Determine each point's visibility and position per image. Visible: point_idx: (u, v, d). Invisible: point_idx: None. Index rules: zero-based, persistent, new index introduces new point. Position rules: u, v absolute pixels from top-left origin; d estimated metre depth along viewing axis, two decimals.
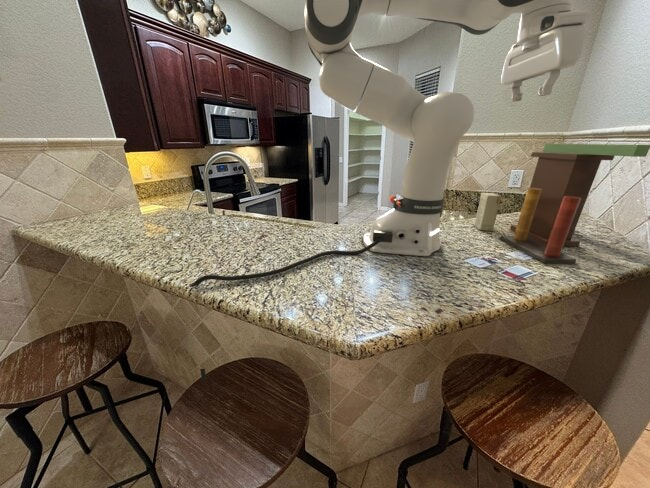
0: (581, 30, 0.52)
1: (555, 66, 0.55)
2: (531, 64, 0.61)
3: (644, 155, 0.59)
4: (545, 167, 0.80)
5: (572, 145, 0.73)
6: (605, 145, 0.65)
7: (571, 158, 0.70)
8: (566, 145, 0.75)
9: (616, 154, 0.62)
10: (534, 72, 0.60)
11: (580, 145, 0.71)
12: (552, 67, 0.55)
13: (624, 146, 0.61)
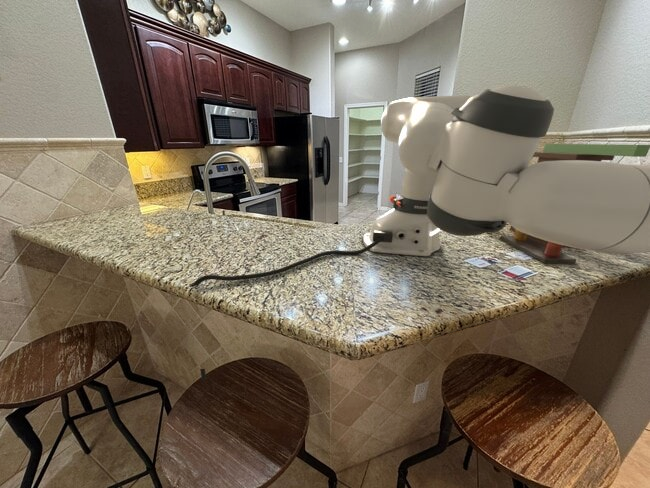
0: None
1: None
2: None
3: (644, 155, 0.59)
4: None
5: (572, 145, 0.73)
6: (605, 145, 0.65)
7: (571, 158, 0.70)
8: (566, 145, 0.75)
9: (616, 154, 0.62)
10: None
11: (580, 145, 0.71)
12: None
13: (624, 146, 0.61)
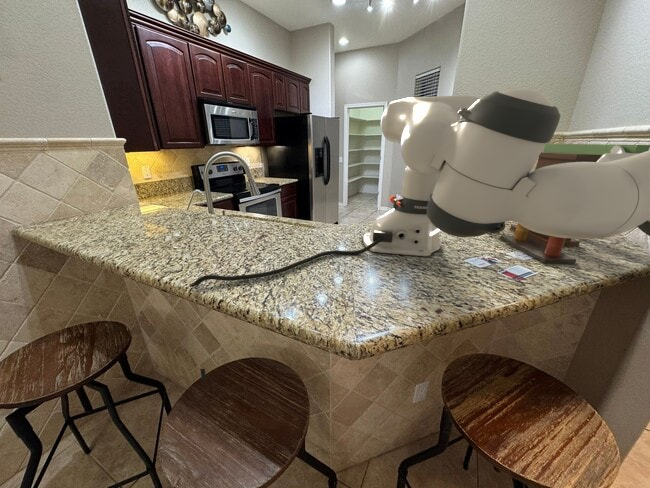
0: None
1: None
2: None
3: None
4: None
5: (572, 145, 0.73)
6: (605, 145, 0.65)
7: (571, 158, 0.70)
8: (566, 145, 0.75)
9: None
10: None
11: (580, 145, 0.71)
12: None
13: (624, 146, 0.61)
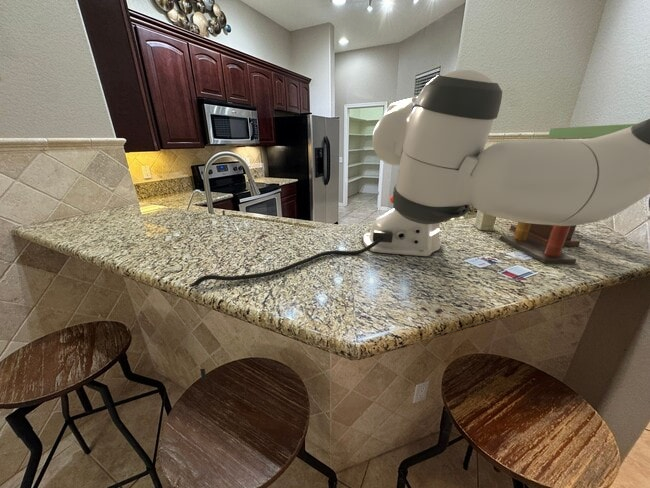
0: None
1: None
2: None
3: None
4: None
5: (582, 128, 0.64)
6: (623, 125, 0.55)
7: None
8: (575, 128, 0.66)
9: None
10: None
11: (592, 127, 0.61)
12: None
13: None
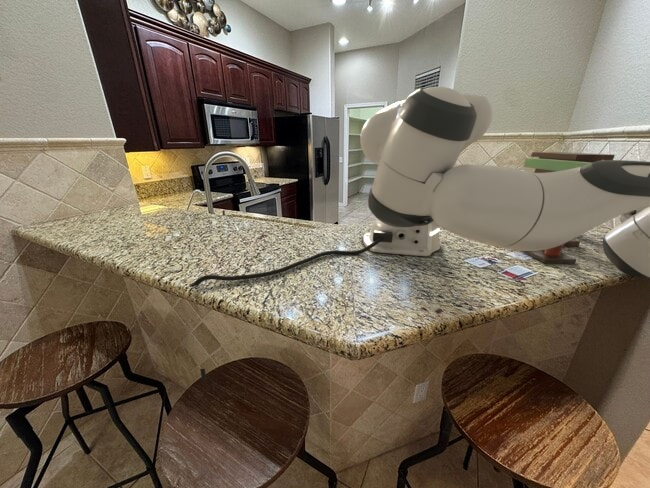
0: None
1: None
2: None
3: None
4: None
5: (552, 161, 0.67)
6: None
7: (571, 158, 0.70)
8: (546, 161, 0.69)
9: None
10: None
11: (560, 162, 0.65)
12: None
13: None
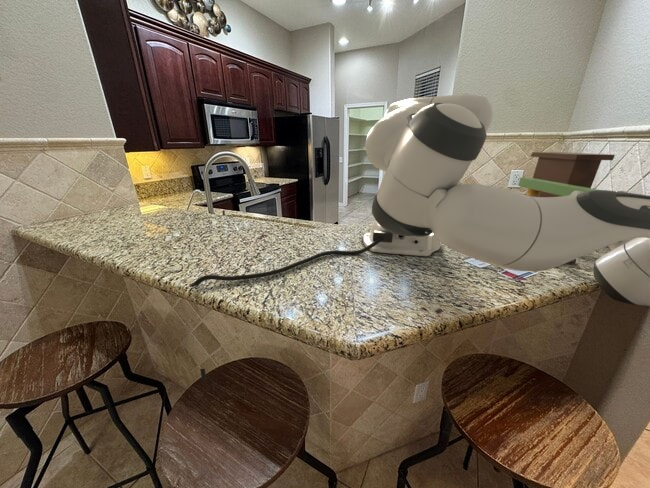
0: None
1: None
2: None
3: None
4: (545, 167, 0.80)
5: (545, 183, 0.69)
6: (577, 189, 0.61)
7: (571, 158, 0.70)
8: (540, 182, 0.71)
9: None
10: None
11: (553, 185, 0.67)
12: None
13: None
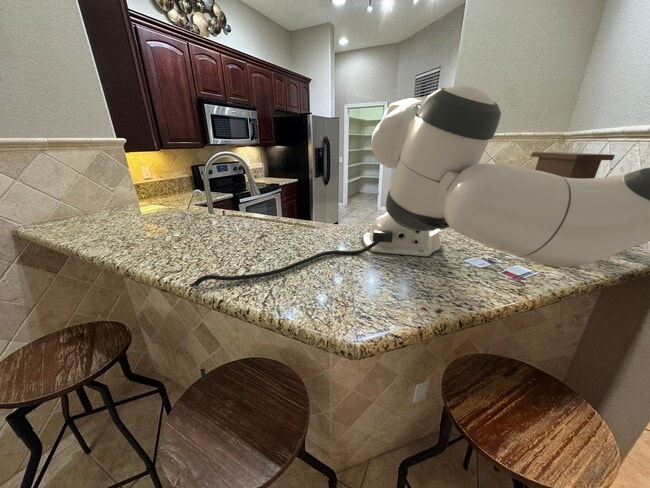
0: None
1: None
2: None
3: None
4: (545, 167, 0.80)
5: None
6: None
7: (571, 158, 0.70)
8: None
9: None
10: None
11: None
12: None
13: None
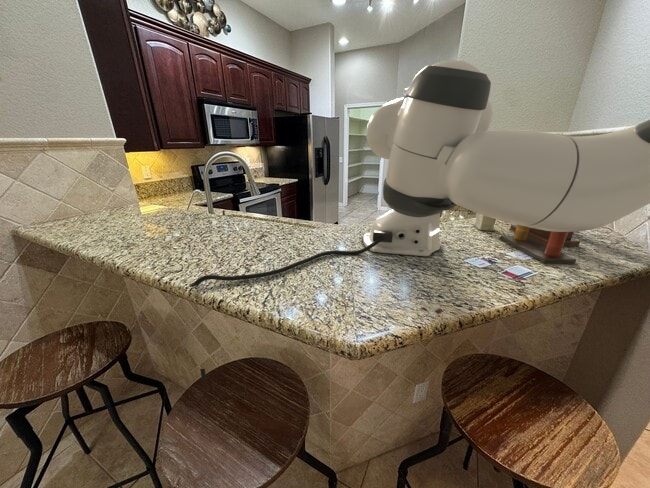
0: None
1: None
2: None
3: None
4: None
5: None
6: None
7: None
8: None
9: None
10: None
11: None
12: None
13: None
